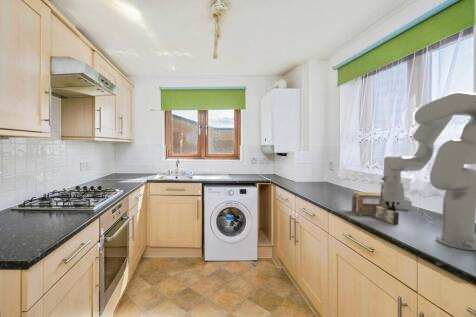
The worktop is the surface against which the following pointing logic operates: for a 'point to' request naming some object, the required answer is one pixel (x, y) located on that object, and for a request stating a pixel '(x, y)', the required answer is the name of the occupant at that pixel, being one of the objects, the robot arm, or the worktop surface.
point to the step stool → (363, 207)
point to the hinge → (405, 205)
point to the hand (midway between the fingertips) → (391, 214)
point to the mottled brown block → (387, 215)
